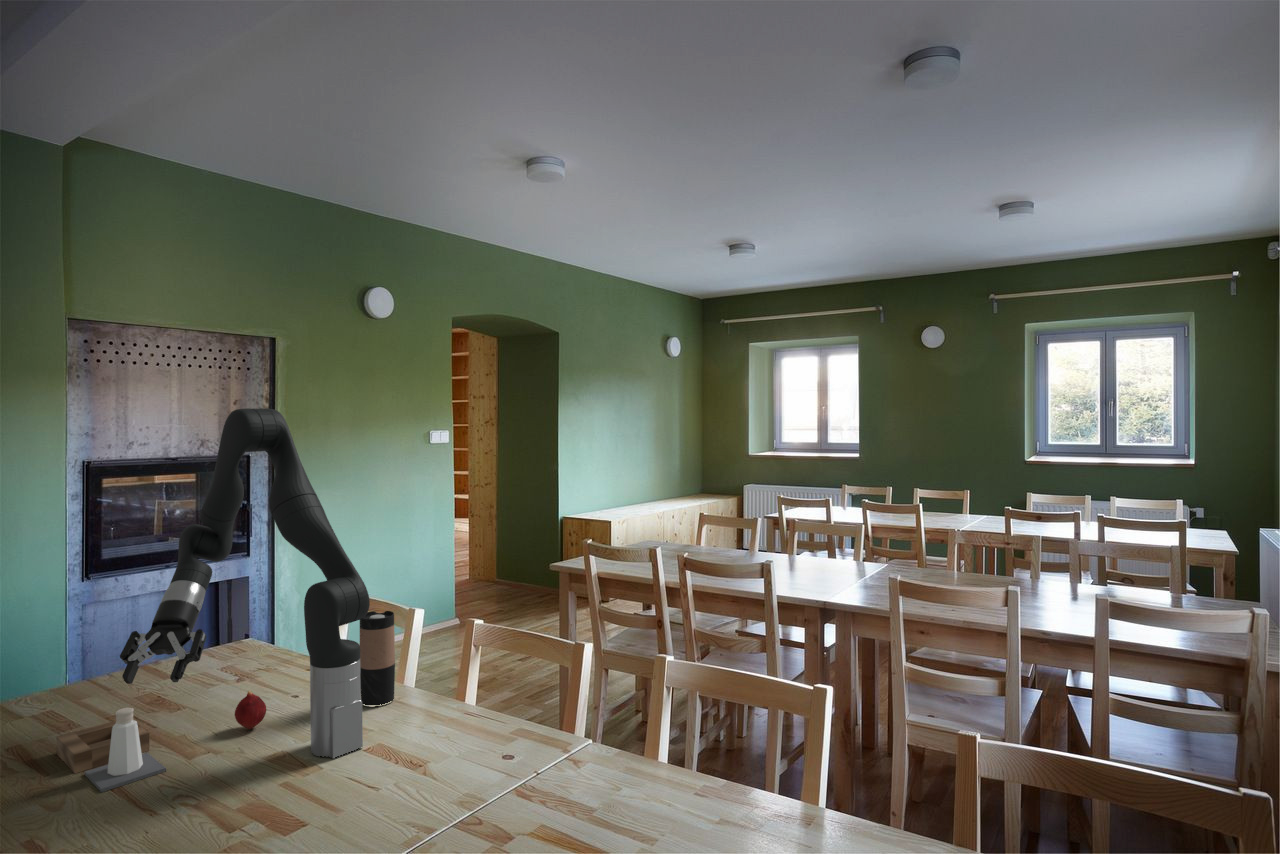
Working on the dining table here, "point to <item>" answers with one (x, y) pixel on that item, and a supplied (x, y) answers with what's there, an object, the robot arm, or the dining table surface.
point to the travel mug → (377, 658)
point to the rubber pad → (109, 781)
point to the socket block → (91, 746)
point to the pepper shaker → (124, 745)
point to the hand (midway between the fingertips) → (150, 681)
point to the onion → (250, 711)
